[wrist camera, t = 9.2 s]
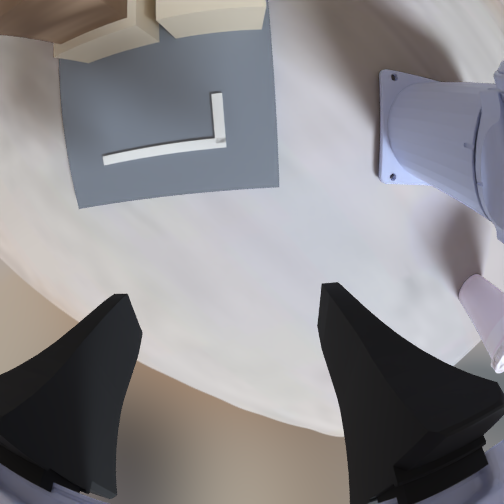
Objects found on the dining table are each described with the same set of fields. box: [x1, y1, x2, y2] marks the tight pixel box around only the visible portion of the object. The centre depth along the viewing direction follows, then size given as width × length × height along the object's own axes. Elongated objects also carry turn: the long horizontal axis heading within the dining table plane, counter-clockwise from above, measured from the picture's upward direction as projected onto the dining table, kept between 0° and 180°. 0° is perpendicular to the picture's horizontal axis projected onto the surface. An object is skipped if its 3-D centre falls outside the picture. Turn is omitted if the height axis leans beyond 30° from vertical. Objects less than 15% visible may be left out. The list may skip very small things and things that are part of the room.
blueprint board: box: [53, 0, 279, 209], centre depth 12 cm, size 14×16×5 cm
